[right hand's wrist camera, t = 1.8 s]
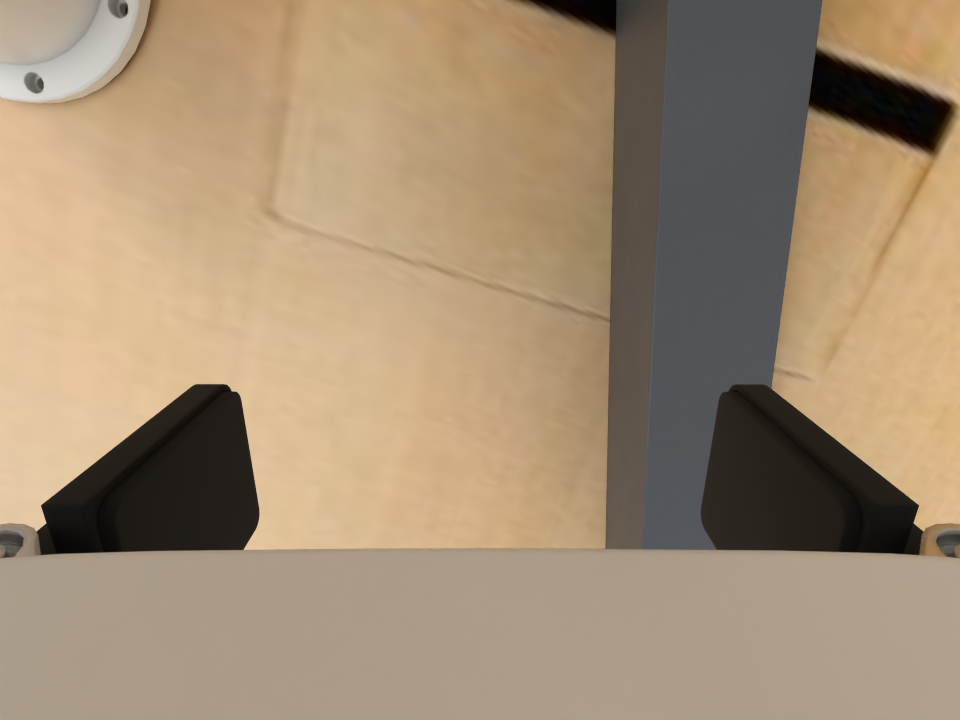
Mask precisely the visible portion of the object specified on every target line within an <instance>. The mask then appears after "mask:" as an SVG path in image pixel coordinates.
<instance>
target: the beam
mask: <svg viewBox="0 0 960 720" xmlns="http://www.w3.org/2000/svg"><path fill="white" fill-rule="evenodd" d="M821 6H822V0H617V8H616V58H615V108H614V157H613V207H612V256H611V306H610V356H609V405H608V455H607V504H606V549H653V550H717V549H716V548H715V546H714V544H713V543H712V541H711V540H710V538H709V536H708V535H707V533H706V531H705V530H704V527H703V525H702V521H701V505H702V499H703V493H704V487H705V481H706V475H707V468H708V462H709V456H710V450H711V444H712V438H713V432H714V426H715V420H716V414H717V408H718V402H719V398H720V395H721V394H722V393H723V392H728V391H729V389H730V387H731V386H733V385H736V384H764V385H766V386H768V387H769V388H771V385H772V378H773V370H774V362H775V355H776V347H777V340H778V332H779V325H780V317H781V309H782V302H783V294H784V287H785V279H786V271H787V264H788V256H789V249H790V241H791V233H792V226H793V218H794V211H795V203H796V195H797V188H798V180H799V173H800V165H801V158H802V150H803V142H804V135H805V127H806V120H807V112H808V104H809V97H810V89H811V82H812V74H813V66H814V59H815V51H816V44H817V36H818V28H819V21H820V13H821Z"/></svg>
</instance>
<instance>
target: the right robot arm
mask: <svg viewBox="0 0 960 720" xmlns="http://www.w3.org/2000/svg"><path fill="white" fill-rule="evenodd" d="M150 2H151V0H0V98H4V99H7V100H13V101H20V102H28V103H62V102H66V101H70V100H75V99H79V98H83V97H85V96H87V95H89V94H91V93H93V92H95V91H97V90H98V89H100V88H102V87H104V86H105V85H106V84H107V83H109V82H110V81H111V80H112V79H113V78H114V77H115V76H117V75H118V74H119V73H120V72H121V71H122V70H123V68H124V67H125V66H126V64H127V63H128V61H129V60H130V58H131V57H132V56H133V54H134V53H135V51H136V49H137V47H138V44H139V42H140V39H141V37H142V35H143V32H144V30H145V27H146V23H147V18H148V12H149V7H150ZM127 6H128V13H127V15H126V7H127ZM41 507H42V510H43V513H44V516H45V519H46V522H47V523H46V524H45V525H44V526H43V527H42V528H40V529H39V530H38V531H37V532H36V531H35V529H34V528H32V527H30V526H27V525H25V524H10V523H9V524H1V525H0V720H960V525H959V524H951V523H950V524H935V525H933V526H930V527H928V528H926V529H925V531H924V532H923V531H922V530H921V529H920V528H918V527H917V526H916V525H915V524H914V523H913V522H914V519H915V516H916V513H917V510H918V507H919V505H918V504H916V503H915V502H914V501H913V500H911V499H910V498H909V497H908V496H906V495H905V494H904V493H903V492H901V491H900V490H899V489H897V488H896V487H895V486H894V485H892V484H891V483H890V482H889V481H887V480H886V479H885V478H883V477H882V476H881V475H880V474H878V473H877V472H876V471H875V470H873V469H872V468H871V467H870V466H868V465H867V464H866V463H864V462H863V461H862V460H861V459H859V458H858V457H857V456H856V455H854V454H853V453H852V452H851V451H849V450H848V449H847V448H845V447H844V446H843V445H842V444H840V443H839V442H838V441H837V440H835V439H834V438H833V437H831V436H830V435H829V434H828V433H826V432H825V431H824V430H823V429H821V428H820V427H819V426H818V425H816V424H815V423H814V422H812V421H811V420H810V419H809V418H807V417H806V416H805V415H804V414H802V413H801V412H800V411H799V410H797V409H796V408H795V407H793V406H792V405H791V404H790V403H788V402H787V401H786V400H785V399H783V398H782V397H781V396H779V395H778V394H777V393H776V392H774V391H773V390H772V389H771V388H769V387H768V386H766V385H764V384H736V385H733V386H731V387H730V389H729V391H728V392H723V393H722V394H721V395H720V398H719V402H718V408H717V414H716V420H715V426H714V432H713V438H712V444H711V450H710V456H709V462H708V468H707V475H706V481H705V487H704V493H703V499H702V505H701V521H702V525H703V527H704V530H705V531H706V533H707V535H708V536H709V538H710V540H711V541H712V543H713V544H714V546H715V548H716V549H717V550H653V549H297V550H243V549H244V548H245V546H246V544H247V543H248V541H249V540H250V538H251V536H252V535H253V533H254V531H255V530H256V527H257V525H258V521H259V505H258V499H257V493H256V487H255V481H254V475H253V468H252V462H251V456H250V450H249V444H248V438H247V432H246V426H245V420H244V414H243V408H242V402H241V398H240V395H239V394H238V393H237V392H232V391H231V389H230V387H229V386H227V385H224V384H196V385H194V386H192V387H191V388H189V389H188V390H187V391H186V392H184V393H183V394H182V395H181V396H179V397H178V398H177V399H175V400H174V401H173V402H172V403H170V404H169V405H168V406H167V407H165V408H164V409H163V410H161V411H160V412H159V413H158V414H156V415H155V416H154V417H153V418H151V419H150V420H149V421H148V422H146V423H145V424H144V425H142V426H141V427H140V428H139V429H137V430H136V431H135V432H134V433H132V434H131V435H130V436H129V437H127V438H126V439H125V440H123V441H122V442H121V443H120V444H118V445H117V446H116V447H115V448H113V449H112V450H111V451H109V452H108V453H107V454H106V455H104V456H103V457H102V458H101V459H99V460H98V461H97V462H96V463H94V464H93V465H92V466H90V467H89V468H88V469H87V470H85V471H84V472H83V473H82V474H80V475H79V476H78V477H77V478H75V479H74V480H73V481H71V482H70V483H69V484H68V485H66V486H65V487H64V488H63V489H61V490H60V491H59V492H57V493H56V494H55V495H54V496H52V497H51V498H50V499H49V500H47V501H46V502H45V503H44V504H42V505H41Z"/></svg>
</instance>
